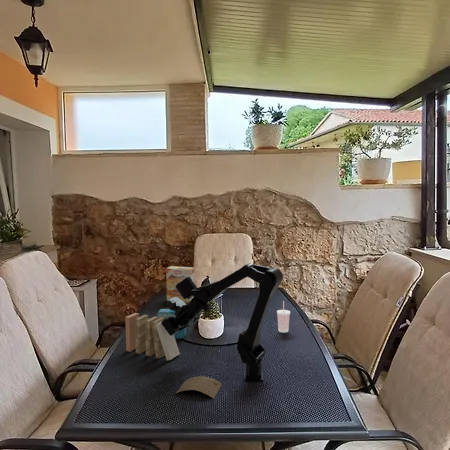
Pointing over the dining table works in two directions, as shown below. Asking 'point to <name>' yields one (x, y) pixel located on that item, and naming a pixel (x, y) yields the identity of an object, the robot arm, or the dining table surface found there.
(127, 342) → the end domino
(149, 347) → the domino
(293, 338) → the dining table surface
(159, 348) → the domino
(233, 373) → the dining table surface
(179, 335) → the data package
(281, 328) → the beverage cup
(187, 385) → the curved brown sheet
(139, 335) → the domino
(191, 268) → the coffeecake box
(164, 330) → the domino
